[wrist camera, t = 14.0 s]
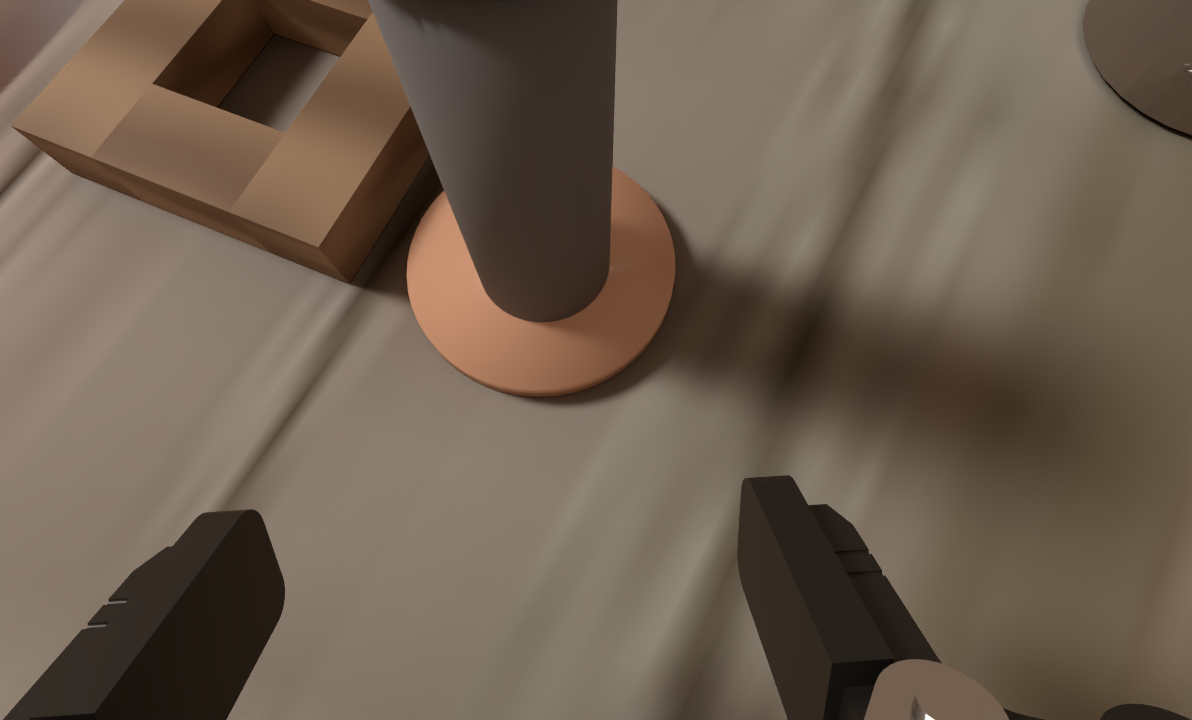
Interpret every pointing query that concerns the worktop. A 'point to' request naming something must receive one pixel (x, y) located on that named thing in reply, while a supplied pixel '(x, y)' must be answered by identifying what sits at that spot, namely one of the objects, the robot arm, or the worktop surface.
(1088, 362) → the worktop surface
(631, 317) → the orange round disc
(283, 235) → the brown wooden square frame
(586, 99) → the plug
